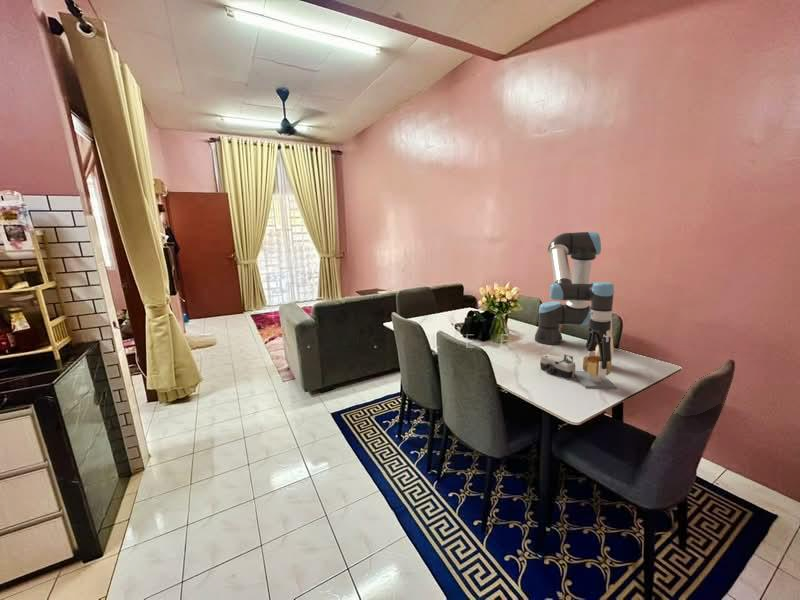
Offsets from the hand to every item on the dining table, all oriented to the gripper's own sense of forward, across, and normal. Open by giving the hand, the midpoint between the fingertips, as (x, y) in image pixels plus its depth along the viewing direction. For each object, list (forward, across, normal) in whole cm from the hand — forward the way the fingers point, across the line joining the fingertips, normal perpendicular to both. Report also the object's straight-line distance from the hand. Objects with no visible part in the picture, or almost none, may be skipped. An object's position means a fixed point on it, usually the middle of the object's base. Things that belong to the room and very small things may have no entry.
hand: (596, 370), depth 138 cm
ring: (0, 0, 0) cm, 0 cm away
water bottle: (+6, -19, +11) cm, 23 cm away
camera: (+6, -10, -13) cm, 17 cm away
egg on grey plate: (+6, -3, 0) cm, 6 cm away
